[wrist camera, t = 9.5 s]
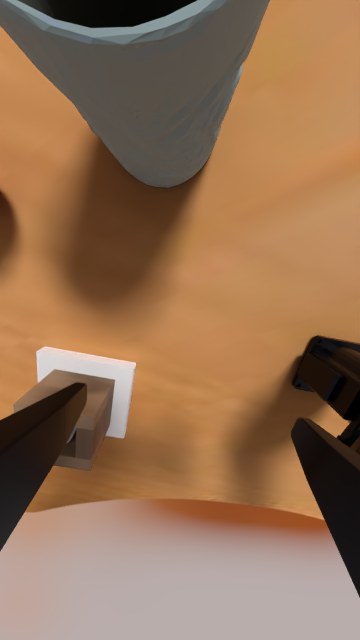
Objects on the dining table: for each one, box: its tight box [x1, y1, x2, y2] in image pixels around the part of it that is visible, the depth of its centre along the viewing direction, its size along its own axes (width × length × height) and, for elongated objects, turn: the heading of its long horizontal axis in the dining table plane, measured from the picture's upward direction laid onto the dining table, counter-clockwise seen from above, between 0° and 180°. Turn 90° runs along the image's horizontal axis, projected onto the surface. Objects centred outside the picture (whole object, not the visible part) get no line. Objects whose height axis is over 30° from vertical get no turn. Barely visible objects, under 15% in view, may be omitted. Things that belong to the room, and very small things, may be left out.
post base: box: [37, 346, 136, 443], centre depth 19 cm, size 10×10×6 cm
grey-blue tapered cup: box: [0, 0, 270, 188], centre depth 8 cm, size 10×10×12 cm
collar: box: [14, 369, 115, 471], centre depth 18 cm, size 6×6×5 cm
